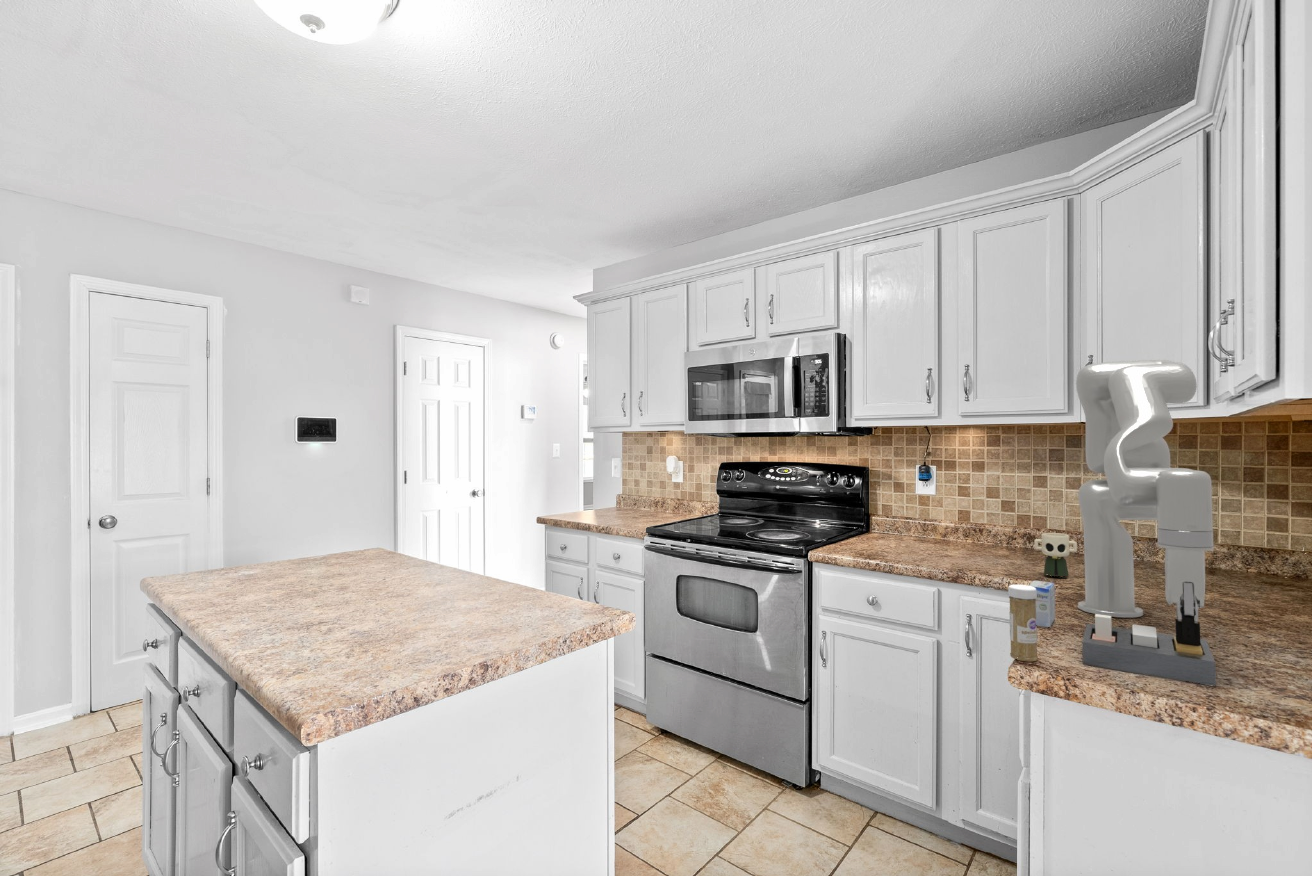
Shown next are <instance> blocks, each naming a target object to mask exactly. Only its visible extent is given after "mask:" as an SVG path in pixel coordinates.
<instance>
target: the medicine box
mask: <svg viewBox="0 0 1312 876" xmlns="http://www.w3.org/2000/svg"><path fill="white" fill-rule="evenodd" d="M1028 586H1032V587H1035V588H1036V591H1037V598H1035V599H1036V625H1038V626H1037V627H1041V628H1048V627H1050V628H1051V627H1052V625H1053V623H1054V622H1055V620H1056V585H1055V583H1054V582H1049V581H1041V580H1032V582H1031V583H1029V584H1028Z"/></svg>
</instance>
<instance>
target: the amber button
mask: <svg viewBox="0 0 1312 876" xmlns="http://www.w3.org/2000/svg"><path fill="white" fill-rule="evenodd" d="M1174 648H1175V651H1178V652H1185V653H1192V654H1199V655H1203V651H1202V648H1201V645H1200V646H1192V645H1185V644H1178V643H1177V641H1176V637H1174Z"/></svg>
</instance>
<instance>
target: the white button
mask: <svg viewBox="0 0 1312 876" xmlns="http://www.w3.org/2000/svg"><path fill="white" fill-rule="evenodd" d="M1132 630H1133V645H1139V646H1146V647H1153V648H1157V634H1156V633H1157V629H1156V626H1150V625H1149V626H1147V625H1141V624H1140V625H1139V624H1132Z"/></svg>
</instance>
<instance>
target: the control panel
mask: <svg viewBox="0 0 1312 876" xmlns="http://www.w3.org/2000/svg"><path fill="white" fill-rule="evenodd" d="M1093 634H1095V623H1086V624H1085V630H1084V634H1083V638H1082V665H1085V666H1090V665H1091V666H1090V667H1097V668H1103V669H1110V670H1114V671H1121V672H1128V673H1133V674H1139V675H1145V676H1150V677H1151V676H1152V677H1158V678H1163V679H1170V680H1174V681H1175V680H1176V681H1180V682H1181V681H1182V682H1186V681H1189V682H1188V683H1192V682H1193V684H1198V683H1200V684H1199V685H1204V686H1205V685H1206V686H1211V685H1213V687H1217V679H1216V678H1217V675H1216V671H1217V670H1216V660H1215V658H1214V655H1213V653H1212V650H1211V648H1210V645H1209V643H1208V640H1207V639H1206V638H1200V645H1201V648H1202V651H1203V655H1199V654H1192V653H1185V652H1178V651H1175V648H1174V637H1176V634H1171V633H1170V634H1169V633H1160V632H1156V634H1157V648H1153V647H1146V646H1139V645H1133V628H1124V627H1116V626H1112V636H1114V637H1115V642H1108V641H1102V640H1095V639H1092V636H1093Z"/></svg>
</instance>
